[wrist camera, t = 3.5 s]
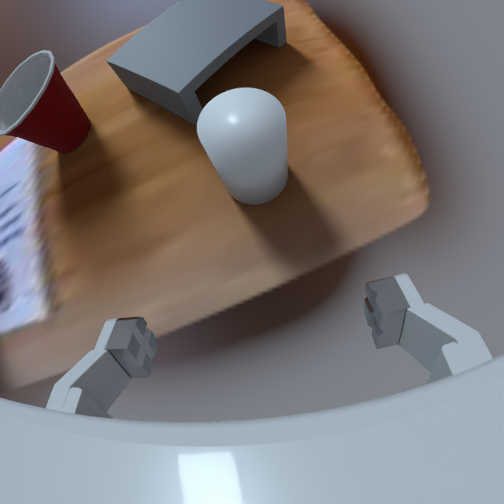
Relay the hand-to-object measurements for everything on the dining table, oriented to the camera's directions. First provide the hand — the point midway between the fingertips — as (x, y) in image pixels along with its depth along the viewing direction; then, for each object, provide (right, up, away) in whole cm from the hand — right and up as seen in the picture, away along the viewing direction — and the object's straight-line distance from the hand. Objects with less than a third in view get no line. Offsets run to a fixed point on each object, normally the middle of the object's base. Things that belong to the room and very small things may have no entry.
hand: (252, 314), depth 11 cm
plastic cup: (-23, +17, +22) cm, 36 cm away
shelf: (-6, +25, +21) cm, 33 cm away
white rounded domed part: (0, +9, +17) cm, 20 cm away
